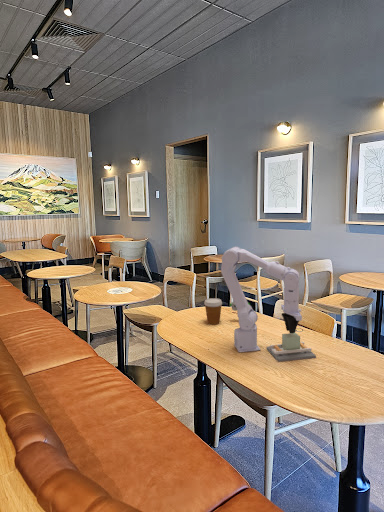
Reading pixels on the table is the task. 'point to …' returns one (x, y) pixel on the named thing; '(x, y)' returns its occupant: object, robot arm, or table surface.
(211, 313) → the disposable coffee cup
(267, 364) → the table surface
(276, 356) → the rail board
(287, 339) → the block
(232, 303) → the mechanical component
